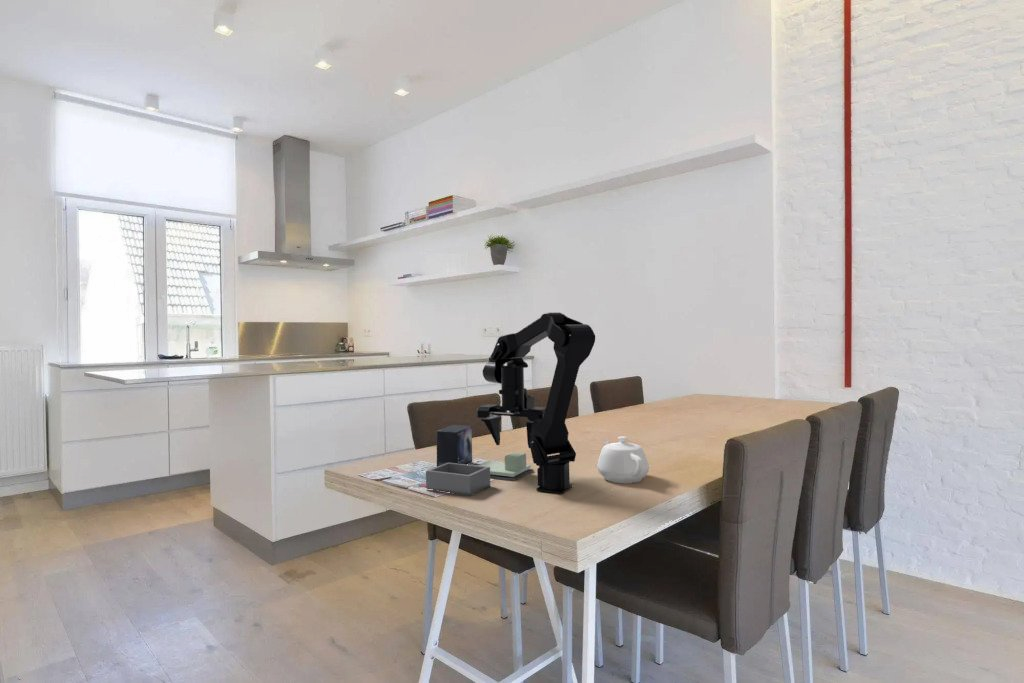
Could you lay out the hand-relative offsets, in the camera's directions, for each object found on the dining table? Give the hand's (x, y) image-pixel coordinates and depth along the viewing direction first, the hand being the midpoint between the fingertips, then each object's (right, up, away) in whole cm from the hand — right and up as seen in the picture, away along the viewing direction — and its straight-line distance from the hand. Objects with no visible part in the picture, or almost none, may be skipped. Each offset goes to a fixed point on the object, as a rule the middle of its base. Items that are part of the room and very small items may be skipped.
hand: (513, 446), depth 144 cm
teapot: (+27, -7, -5) cm, 28 cm away
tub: (-13, -8, -11) cm, 19 cm away
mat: (-4, -7, +2) cm, 8 cm away
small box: (-16, -8, +11) cm, 21 cm away
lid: (-3, -7, +2) cm, 8 cm away
